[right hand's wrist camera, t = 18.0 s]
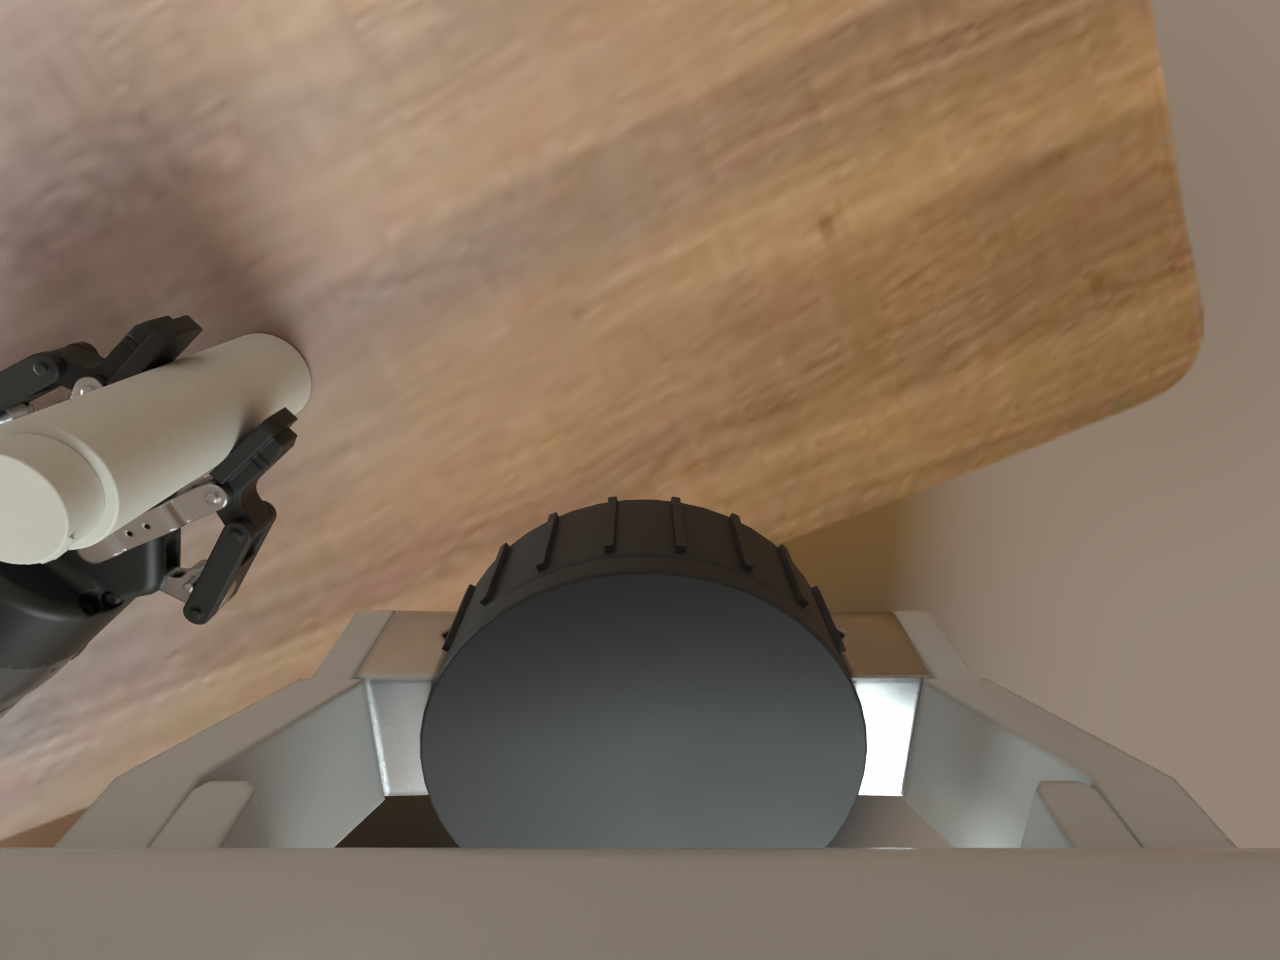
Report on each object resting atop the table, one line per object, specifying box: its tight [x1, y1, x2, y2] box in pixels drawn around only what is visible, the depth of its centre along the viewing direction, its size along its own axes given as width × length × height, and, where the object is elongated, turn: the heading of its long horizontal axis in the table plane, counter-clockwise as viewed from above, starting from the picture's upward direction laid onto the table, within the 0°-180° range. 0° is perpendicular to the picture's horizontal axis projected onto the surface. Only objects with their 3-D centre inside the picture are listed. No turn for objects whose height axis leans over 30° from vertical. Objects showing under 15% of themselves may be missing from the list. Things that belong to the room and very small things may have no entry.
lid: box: [420, 497, 867, 848], centre depth 9 cm, size 5×5×2 cm
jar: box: [0, 333, 311, 565], centre depth 29 cm, size 4×4×16 cm
